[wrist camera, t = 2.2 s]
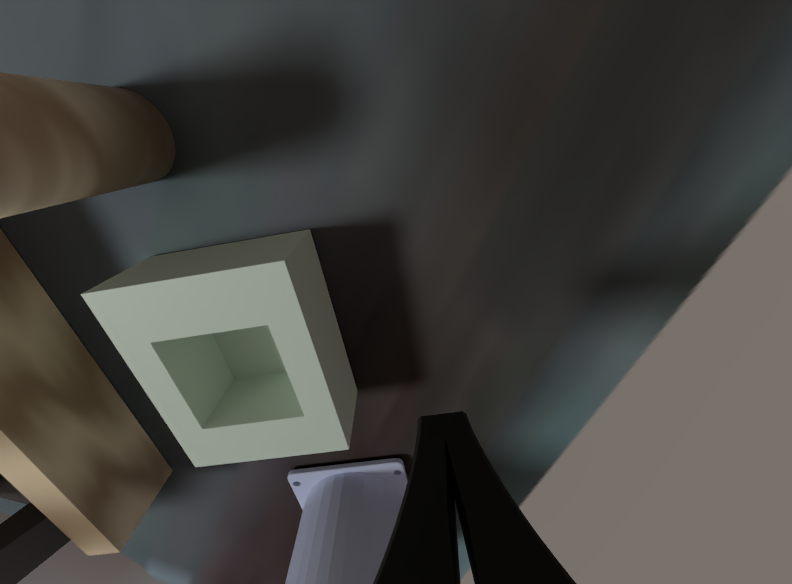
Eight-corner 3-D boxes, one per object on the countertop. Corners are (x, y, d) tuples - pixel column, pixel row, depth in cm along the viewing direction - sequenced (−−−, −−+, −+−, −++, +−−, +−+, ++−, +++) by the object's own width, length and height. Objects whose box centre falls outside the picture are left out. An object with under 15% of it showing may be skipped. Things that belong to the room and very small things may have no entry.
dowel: (190, 174, 15) (-7, 223, 8) (114, 189, 15) (-145, 249, 8) (149, 79, 13) (-148, 25, 6) (65, 97, 13) (-314, 67, 6)
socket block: (357, 391, 20) (349, 449, 16) (230, 407, 21) (195, 467, 17) (309, 229, 16) (284, 260, 12) (149, 256, 16) (80, 294, 13)
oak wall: (172, 470, 23) (120, 552, 19) (146, 473, 24) (87, 555, 19) (-40, 172, 15) (-231, 194, 10) (-81, 180, 15) (-286, 205, 10)
